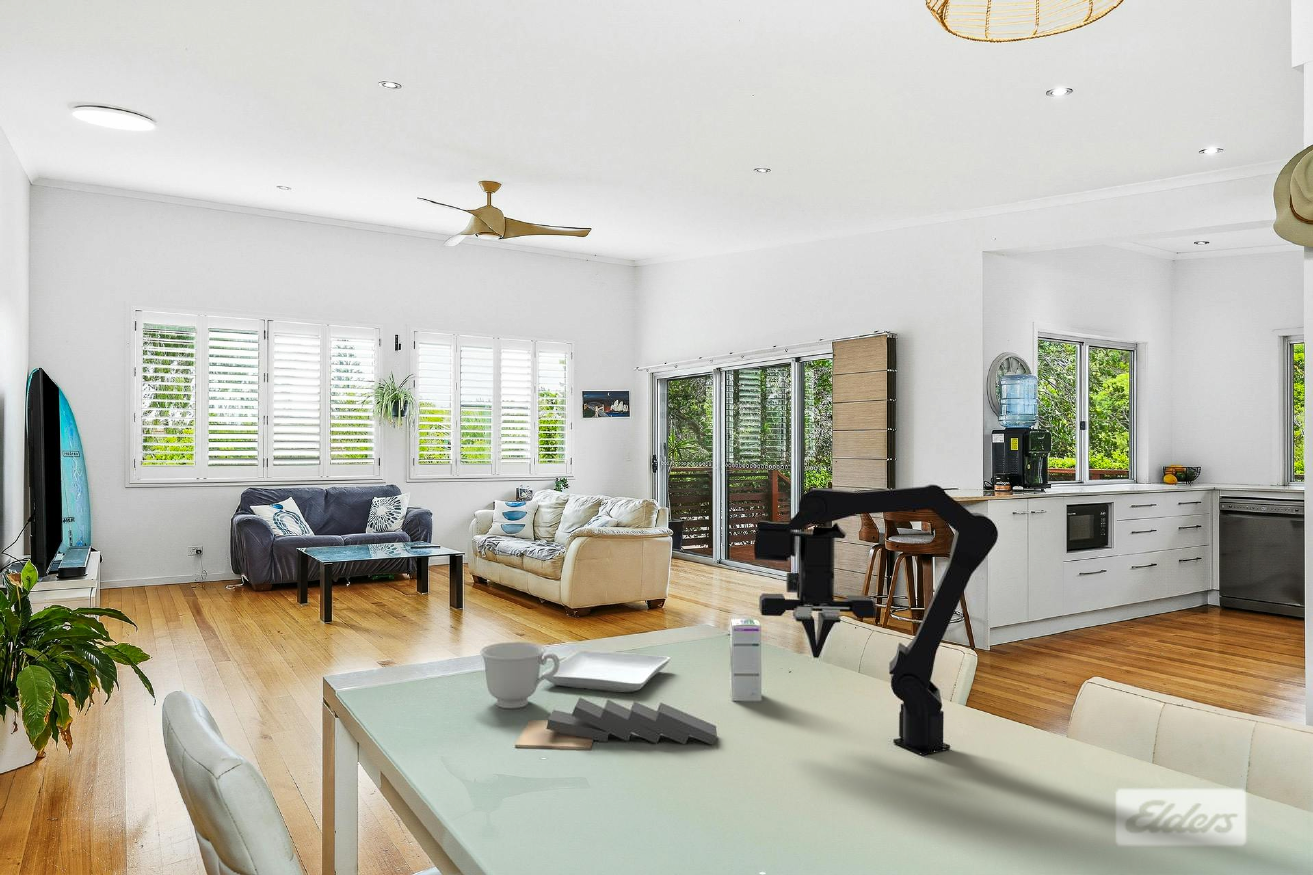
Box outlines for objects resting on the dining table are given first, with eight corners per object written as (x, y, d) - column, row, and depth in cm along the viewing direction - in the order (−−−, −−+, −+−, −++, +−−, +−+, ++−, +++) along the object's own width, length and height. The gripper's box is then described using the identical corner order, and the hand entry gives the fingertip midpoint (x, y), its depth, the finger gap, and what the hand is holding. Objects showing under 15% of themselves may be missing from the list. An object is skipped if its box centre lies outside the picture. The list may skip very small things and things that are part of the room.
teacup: (547, 717, 148) (548, 660, 148) (468, 711, 151) (469, 655, 151) (568, 697, 160) (569, 644, 160) (494, 692, 163) (495, 640, 163)
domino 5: (716, 725, 141) (660, 702, 141) (716, 736, 136) (659, 711, 136) (712, 734, 141) (656, 711, 141) (713, 745, 136) (655, 720, 136)
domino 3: (662, 724, 141) (607, 699, 142) (660, 734, 136) (604, 708, 137) (658, 733, 141) (604, 708, 142) (656, 743, 136) (600, 717, 137)
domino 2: (634, 721, 141) (579, 697, 142) (631, 731, 136) (575, 706, 137) (630, 730, 141) (575, 705, 142) (627, 740, 136) (571, 715, 137)
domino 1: (611, 722, 141) (553, 709, 142) (608, 732, 136) (548, 719, 137) (609, 731, 141) (551, 718, 142) (606, 742, 136) (546, 728, 137)
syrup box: (762, 701, 159) (763, 624, 159) (730, 701, 159) (731, 624, 159) (759, 693, 165) (759, 618, 165) (728, 692, 165) (729, 618, 165)
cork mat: (599, 724, 145) (599, 722, 145) (590, 749, 133) (590, 746, 133) (530, 722, 146) (530, 719, 146) (514, 747, 134) (515, 744, 134)
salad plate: (539, 689, 166) (539, 672, 166) (579, 663, 187) (579, 648, 187) (641, 700, 160) (641, 682, 160) (671, 672, 181) (672, 656, 181)
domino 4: (689, 725, 141) (634, 701, 141) (688, 735, 136) (631, 710, 136) (685, 733, 141) (630, 709, 141) (685, 744, 136) (627, 719, 136)
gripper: (863, 558, 149) (862, 647, 149) (757, 556, 150) (756, 644, 150) (877, 567, 138) (876, 663, 138) (762, 565, 139) (761, 660, 139)
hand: (815, 657), depth 141 cm, fingers closed
